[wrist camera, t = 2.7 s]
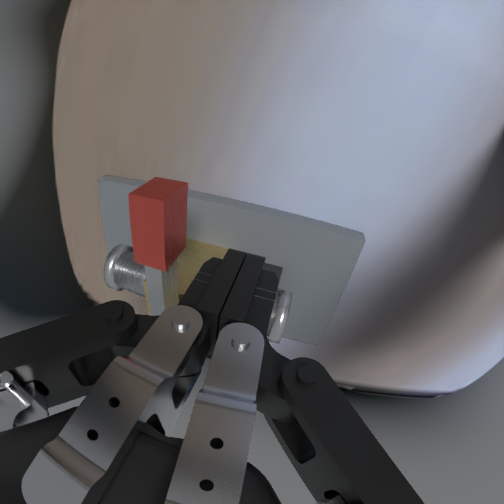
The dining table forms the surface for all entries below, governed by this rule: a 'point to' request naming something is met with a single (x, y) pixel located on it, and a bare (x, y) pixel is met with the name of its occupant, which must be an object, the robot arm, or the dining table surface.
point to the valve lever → (159, 237)
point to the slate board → (259, 247)
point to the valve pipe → (186, 277)
